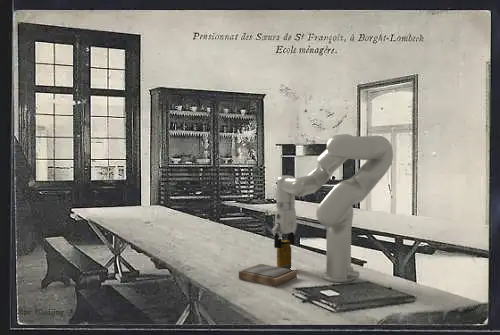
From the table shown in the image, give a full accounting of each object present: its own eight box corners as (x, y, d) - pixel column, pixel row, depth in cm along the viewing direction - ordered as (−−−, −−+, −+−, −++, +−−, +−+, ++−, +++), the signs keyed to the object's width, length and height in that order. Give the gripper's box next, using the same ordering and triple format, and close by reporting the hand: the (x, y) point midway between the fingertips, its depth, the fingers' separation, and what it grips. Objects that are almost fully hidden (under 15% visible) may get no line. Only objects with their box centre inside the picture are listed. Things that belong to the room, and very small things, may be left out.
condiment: (275, 266, 237) (274, 239, 236) (294, 266, 238) (294, 238, 237) (277, 271, 230) (277, 243, 228) (297, 270, 231) (297, 242, 229)
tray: (296, 278, 220) (296, 269, 220) (276, 287, 209) (276, 278, 209) (260, 270, 231) (259, 262, 231) (238, 278, 220) (238, 270, 219)
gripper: (281, 209, 222) (280, 251, 224) (304, 203, 236) (303, 243, 238) (265, 207, 227) (264, 248, 229) (289, 201, 240) (288, 240, 242)
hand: (284, 245), depth 233 cm, fingers open, 9 cm apart
